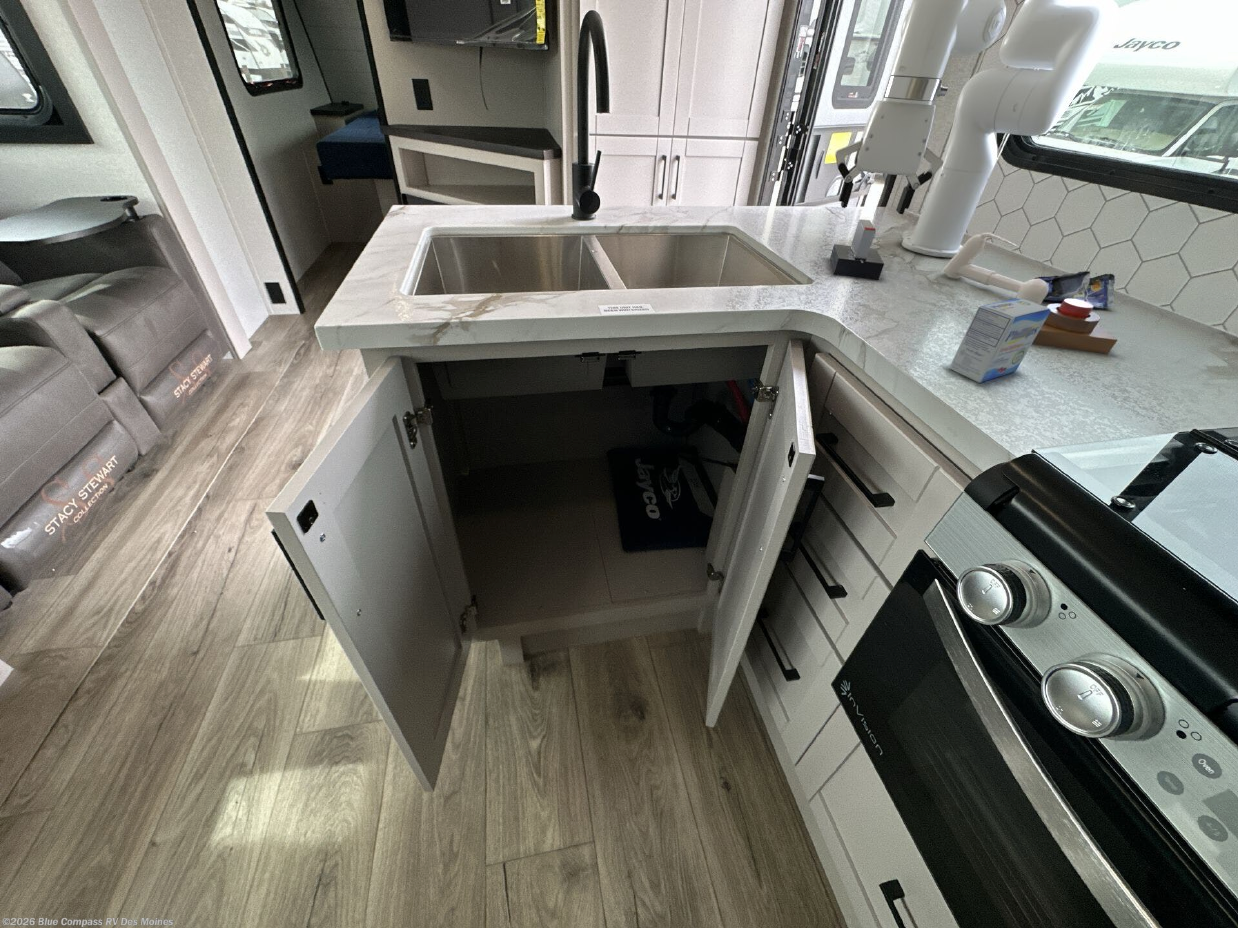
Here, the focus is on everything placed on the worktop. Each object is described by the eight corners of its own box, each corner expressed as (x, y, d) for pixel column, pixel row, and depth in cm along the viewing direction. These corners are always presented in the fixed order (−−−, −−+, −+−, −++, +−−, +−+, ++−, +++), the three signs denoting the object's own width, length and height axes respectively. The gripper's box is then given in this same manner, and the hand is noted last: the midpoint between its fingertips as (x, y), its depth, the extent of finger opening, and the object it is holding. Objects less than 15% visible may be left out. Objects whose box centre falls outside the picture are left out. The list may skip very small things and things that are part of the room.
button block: (1011, 323, 81) (1025, 298, 78) (1082, 332, 79) (1098, 306, 77) (1030, 344, 74) (1046, 317, 72) (1107, 354, 73) (1126, 327, 70)
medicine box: (978, 384, 64) (1015, 318, 58) (946, 368, 67) (978, 304, 61) (1015, 372, 67) (1053, 308, 62) (983, 358, 70) (1017, 295, 65)
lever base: (818, 256, 104) (822, 240, 102) (881, 264, 102) (887, 247, 100) (822, 275, 95) (827, 257, 93) (891, 283, 93) (898, 266, 91)
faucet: (1006, 331, 90) (1056, 284, 82) (938, 268, 98) (977, 220, 90) (1020, 328, 91) (1070, 281, 83) (952, 266, 99) (992, 218, 91)
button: (1052, 308, 76) (1059, 297, 75) (1079, 312, 76) (1087, 300, 74) (1063, 317, 73) (1070, 305, 72) (1091, 321, 73) (1098, 309, 72)
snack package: (1087, 320, 83) (1119, 306, 88) (1103, 279, 80) (1136, 267, 85) (1007, 306, 93) (1041, 295, 97) (1019, 269, 89) (1053, 259, 94)
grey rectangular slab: (850, 246, 100) (859, 217, 97) (861, 248, 100) (870, 219, 96) (855, 258, 94) (864, 228, 91) (866, 259, 94) (876, 229, 90)
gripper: (961, 96, 83) (917, 211, 94) (850, 87, 86) (820, 200, 96) (975, 97, 77) (927, 220, 88) (856, 88, 80) (823, 208, 90)
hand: (871, 209), depth 92 cm, fingers open, 9 cm apart
